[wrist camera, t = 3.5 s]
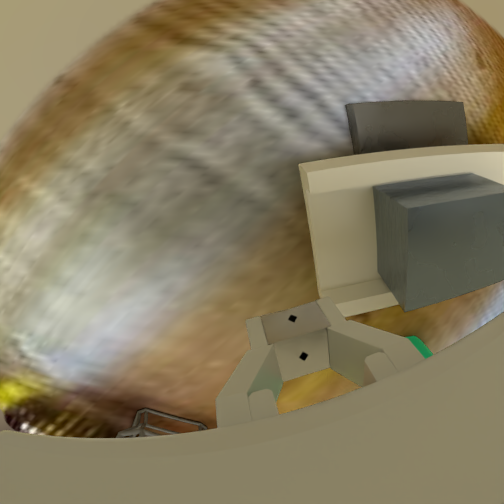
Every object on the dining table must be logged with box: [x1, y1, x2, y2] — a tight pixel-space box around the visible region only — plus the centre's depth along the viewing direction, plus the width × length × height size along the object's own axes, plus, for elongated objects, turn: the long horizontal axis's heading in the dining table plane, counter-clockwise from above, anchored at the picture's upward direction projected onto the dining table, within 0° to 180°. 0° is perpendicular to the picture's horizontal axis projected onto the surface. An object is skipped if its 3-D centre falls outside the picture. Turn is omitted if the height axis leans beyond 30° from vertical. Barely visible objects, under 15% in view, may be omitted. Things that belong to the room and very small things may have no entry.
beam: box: [298, 144, 504, 317], centre depth 13 cm, size 24×8×4 cm, turn 103°
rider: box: [372, 173, 504, 312], centre depth 12 cm, size 7×5×4 cm
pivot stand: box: [346, 101, 468, 155], centre depth 19 cm, size 12×14×6 cm
